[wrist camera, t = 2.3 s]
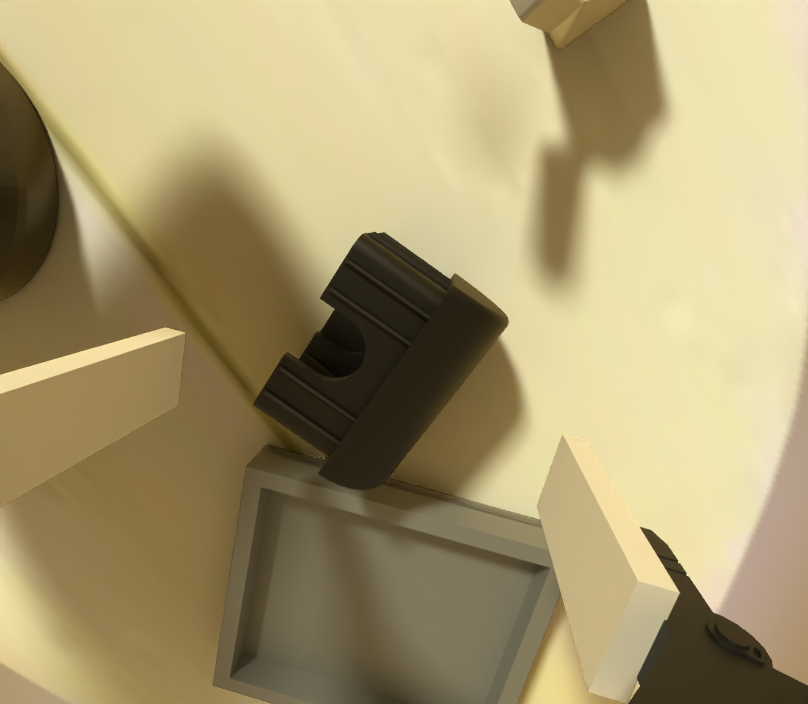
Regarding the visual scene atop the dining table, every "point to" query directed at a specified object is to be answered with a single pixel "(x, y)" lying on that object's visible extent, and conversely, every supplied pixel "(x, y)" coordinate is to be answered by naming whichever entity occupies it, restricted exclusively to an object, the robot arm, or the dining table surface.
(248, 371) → the dining table surface
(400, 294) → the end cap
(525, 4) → the lighter
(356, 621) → the seat tray
